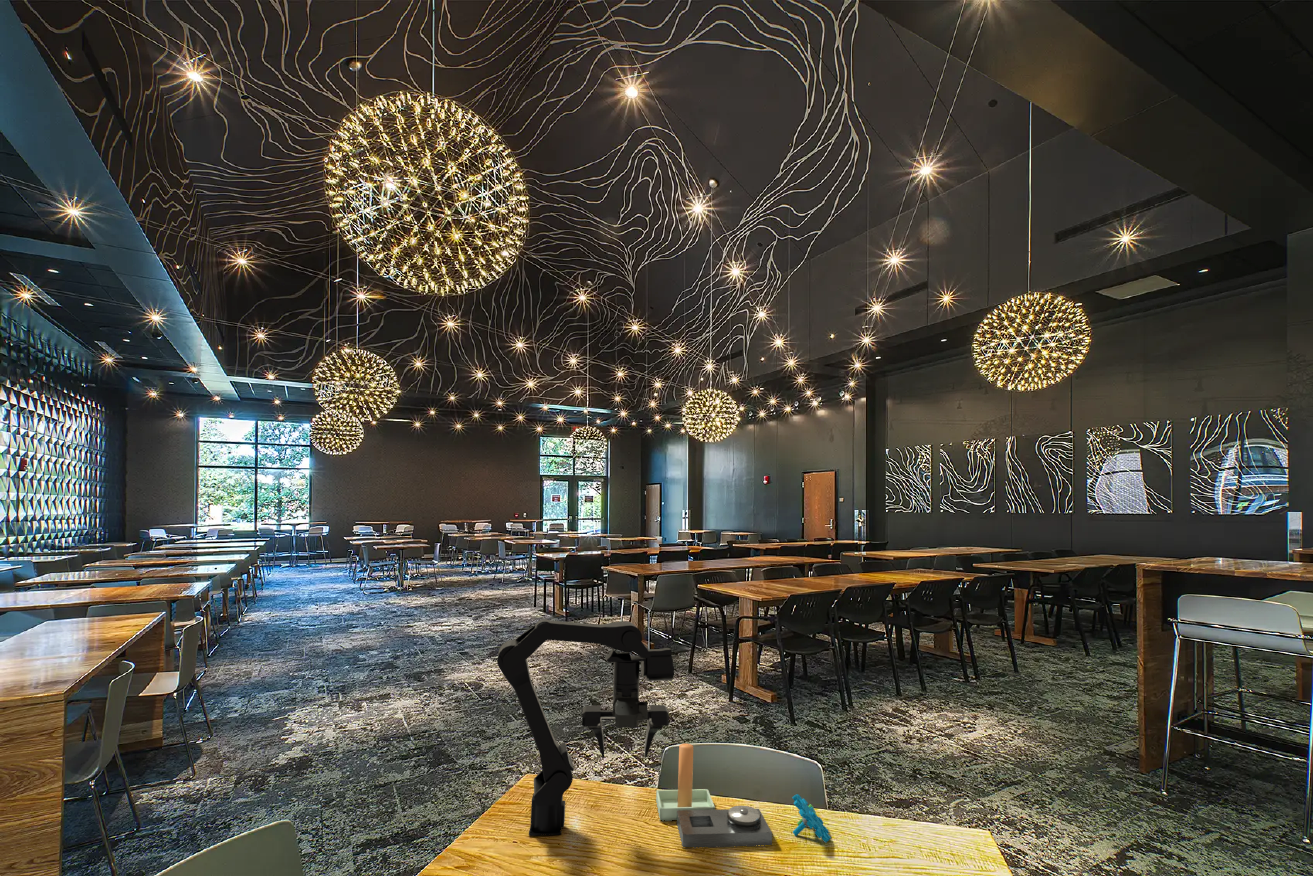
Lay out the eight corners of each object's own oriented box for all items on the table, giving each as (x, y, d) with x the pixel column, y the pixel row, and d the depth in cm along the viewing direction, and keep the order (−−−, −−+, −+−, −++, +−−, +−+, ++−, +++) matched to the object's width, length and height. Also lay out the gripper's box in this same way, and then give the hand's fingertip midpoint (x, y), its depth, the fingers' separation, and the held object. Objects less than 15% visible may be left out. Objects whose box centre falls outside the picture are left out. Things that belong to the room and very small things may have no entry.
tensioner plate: (682, 848, 117) (683, 822, 118) (676, 823, 127) (676, 799, 128) (771, 845, 119) (771, 820, 120) (759, 821, 129) (758, 798, 129)
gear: (832, 845, 117) (795, 798, 121) (810, 865, 117) (774, 819, 121) (833, 827, 127) (799, 785, 131) (813, 846, 127) (779, 803, 131)
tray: (659, 821, 128) (660, 808, 128) (656, 801, 137) (656, 790, 137) (714, 819, 129) (714, 807, 129) (707, 800, 138) (707, 789, 138)
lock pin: (678, 811, 131) (680, 748, 133) (676, 804, 134) (678, 743, 136) (692, 811, 131) (694, 748, 133) (690, 804, 135) (692, 743, 137)
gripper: (582, 692, 123) (579, 773, 120) (672, 691, 124) (671, 771, 122) (584, 678, 134) (581, 752, 131) (666, 678, 135) (665, 751, 133)
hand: (624, 757), depth 129 cm, fingers open, 9 cm apart
